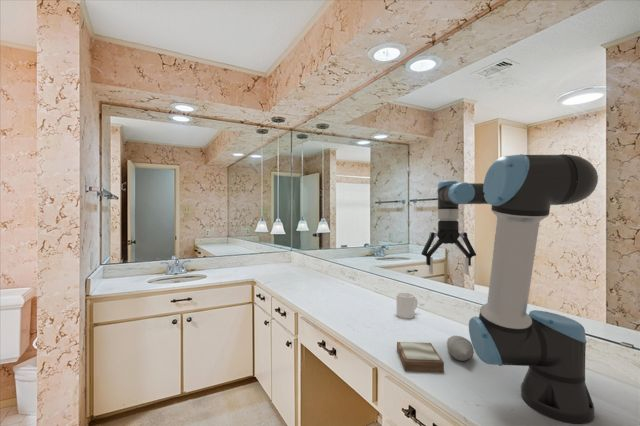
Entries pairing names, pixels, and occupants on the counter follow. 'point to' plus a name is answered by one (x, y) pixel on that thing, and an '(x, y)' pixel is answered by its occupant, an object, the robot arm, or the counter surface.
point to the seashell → (460, 348)
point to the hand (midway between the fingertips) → (448, 273)
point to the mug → (406, 305)
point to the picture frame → (419, 357)
